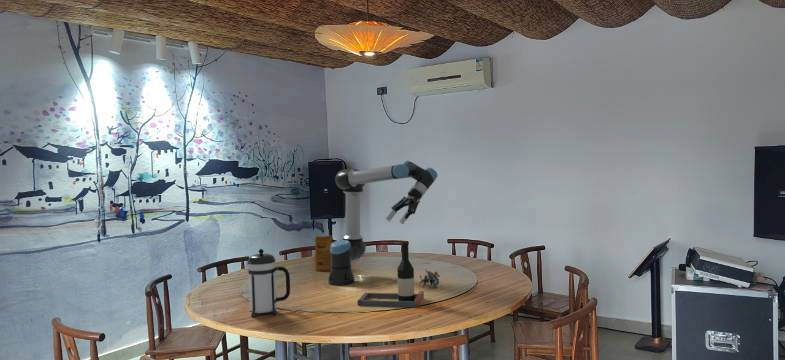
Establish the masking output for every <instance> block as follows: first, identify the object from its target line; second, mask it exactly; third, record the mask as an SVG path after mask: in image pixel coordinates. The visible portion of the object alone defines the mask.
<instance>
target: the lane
mask: <svg viewBox="0 0 785 360" xmlns="http://www.w3.org/2000/svg"><path fill="white" fill-rule="evenodd" d="M424 292H425V291H424V290H419V292H418V293H414V298H415V301H398V292H397V293H394V292H392V293H390V292H364V293H363V294H362V295H361V296H360V297H359V298H358V299H357V306H358V307H385V308H386V307H387V308H388V307H391V308H394V307H395V308H399V307H400V308H420V307H421V305H422V304H421V303H423V302H424V300H423V299H425V298H424V297H425V295H424V294H425V293H424ZM375 299H378V300H375ZM379 299H380V300H379ZM383 299H385V300H383ZM387 299H389V300H387ZM422 301H423V302H422Z"/></svg>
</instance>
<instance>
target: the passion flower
mask: <svg viewBox="0 0 785 360" xmlns="http://www.w3.org/2000/svg"><path fill="white" fill-rule="evenodd" d="M425 272H426V274H425V275H424V279H423V278H422V276H421V275H420V276H419V279H420V280H421V281H419V284H422V287H424V286H425V285H426V283H427V284H430V286H432V285H433V286H434V288H435V289H439V287H440V286H439V285H440V284H439V283H440V279H439V278H440V277H441V276H440V274H439V273H438V272H437V271H434V272H433V271H431V270H427V269H425Z"/></svg>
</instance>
